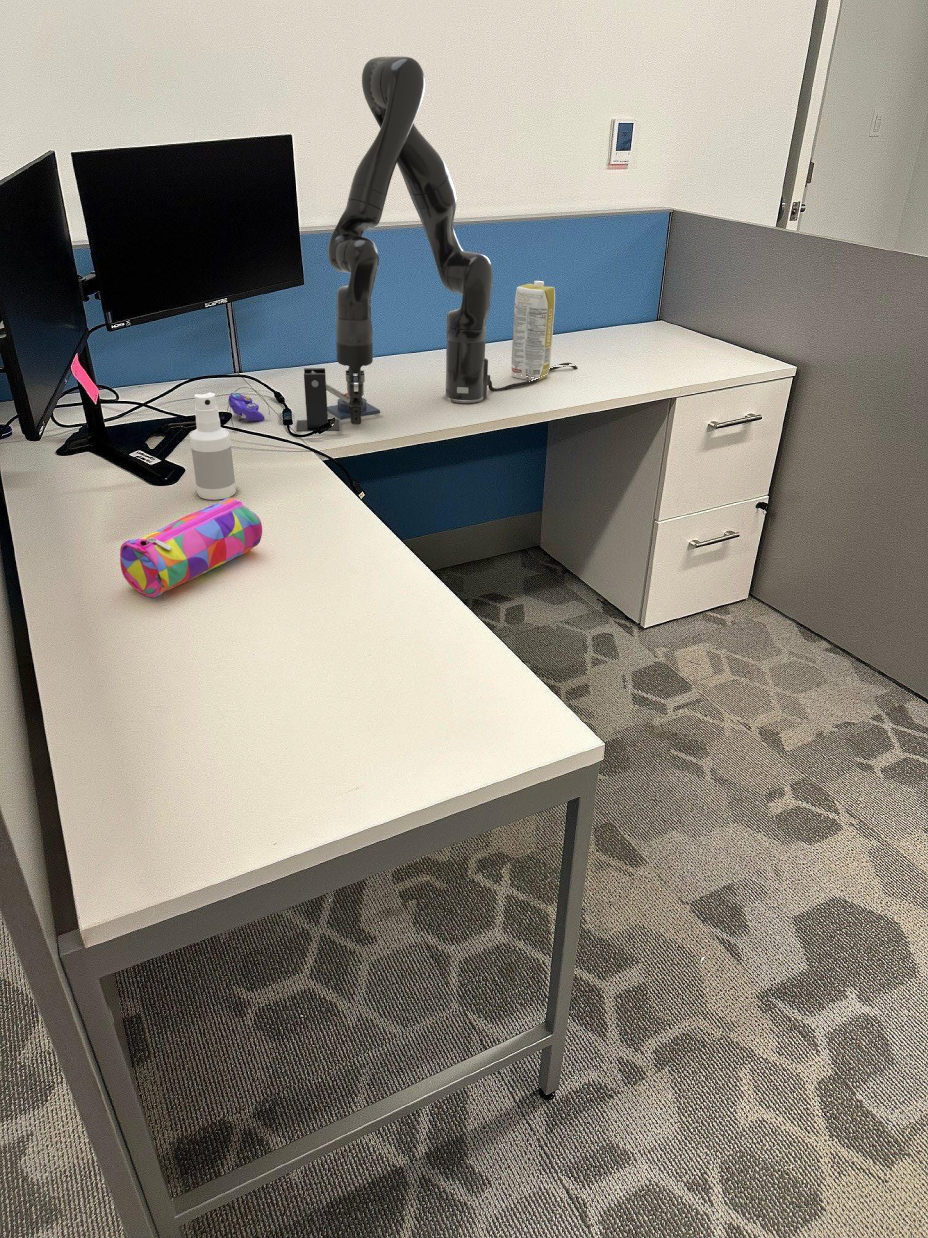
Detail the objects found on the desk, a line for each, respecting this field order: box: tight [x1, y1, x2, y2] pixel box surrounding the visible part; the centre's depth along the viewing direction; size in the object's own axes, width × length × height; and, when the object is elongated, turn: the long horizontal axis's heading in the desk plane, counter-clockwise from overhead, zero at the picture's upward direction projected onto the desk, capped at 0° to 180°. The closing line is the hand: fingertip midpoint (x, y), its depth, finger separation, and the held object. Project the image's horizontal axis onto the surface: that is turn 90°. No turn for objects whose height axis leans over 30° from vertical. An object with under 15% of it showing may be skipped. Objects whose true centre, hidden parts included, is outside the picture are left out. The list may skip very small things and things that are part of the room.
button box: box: [327, 397, 381, 421], centre depth 197 cm, size 10×8×4 cm
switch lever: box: [311, 370, 364, 411], centre depth 185 cm, size 13×3×3 cm
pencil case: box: [119, 497, 263, 598], centre depth 129 cm, size 22×9×9 cm, turn 148°
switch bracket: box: [295, 367, 340, 433], centre depth 185 cm, size 9×7×13 cm
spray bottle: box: [189, 392, 237, 501], centre depth 153 cm, size 7×7×18 cm
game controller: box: [221, 386, 271, 428], centre depth 191 cm, size 10×8×10 cm
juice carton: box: [510, 280, 556, 382], centre depth 224 cm, size 9×8×24 cm
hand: (355, 420), depth 189 cm, fingers closed on switch lever, 3 cm apart
